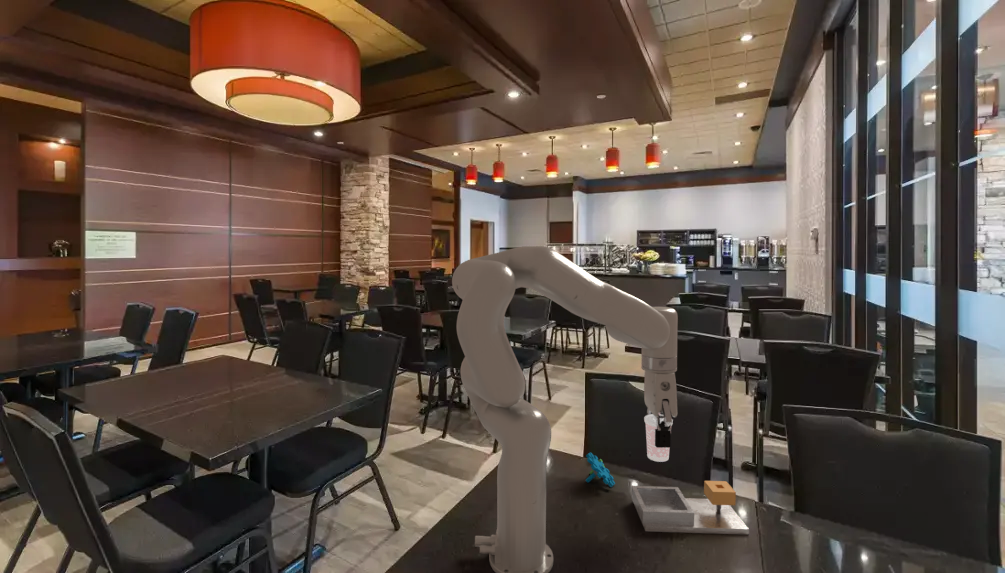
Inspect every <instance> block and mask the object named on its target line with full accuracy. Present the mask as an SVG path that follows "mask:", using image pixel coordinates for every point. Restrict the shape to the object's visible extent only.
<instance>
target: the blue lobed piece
mask: <svg viewBox="0 0 1005 573" xmlns="http://www.w3.org/2000/svg"><path fill="white" fill-rule="evenodd" d="M585 457H586V458H587V459H586V460H587V463H589V464H590V468H591V470H590V472H589V476H588V477H587V478H585V482H587V483H589V484H590V482H592V480H593V479H595V478H596V477H597V478H599V479H601V478H602V481H603V483H604V484H605V485H608V487H610V488H613V487H614V486H615V485H616V482H615V481H614V477H613V475H611V474H610V469H608V468H606V467H605V464H604V463H603V459H601V458H600V459H599V458H598V456H597V455H594V454H593V453H592V452H590V451H589V453H587V454H586V455H585Z"/></svg>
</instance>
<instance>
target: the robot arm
mask: <svg viewBox="0 0 1005 573" xmlns="http://www.w3.org/2000/svg"><path fill="white" fill-rule="evenodd" d="M452 274H453V275H452V279H451V284H452V288H453V291H454V292H455V294H456V295H457V296H458V298H460V299H461V300H462V301H461V304H460V307H459V311H458V313H457V318H456V334H457V339H458V342H459V345H460V347H461V350H462V352H463V354H464V357H463V360H462V362H461V366H460V379H461V384H462V385H463V388H464V390H465V393H466V395H467V396H468V398H469V401H470V402H471V405H472V408H473V410H474V411H475V414H476V416H477V418H478V420H479V422H480V423H481V425H482V426H483V428H484V429H485V431H487V433H488V434H490V435H491V437H493V438H494V439H495V440H496V441H497V442H498V443H499V444H500V445H501V455H500V458H499V461H498V465H497V477H496V479H497V480H496V485H497V486H496V487H497V489H496V491H497V496H496V499H497V501H496V502H497V503H496V504H497V506H496V508H497V510H496V511H497V512H496V513H497V516H496V517H497V518H496V520H497V521H496V522H497V523H496V524H497V525H496V528H497V529H496V530H495V531H496V532H495V534H490V536H488V535H487V536H485V535H475V536H474V547H479V554H484V555H485V554H488V555H489V566H490V567H491V568H492V571H494V573H550V572H551V570H552V569H553V565H554V554H553V550H552V549H551V548H550V546H549V545H548V544H547V543H546V536H547V535H546V534H547V533H546V532H547V531H546V529H547V527H546V526H547V525H546V524H547V522H546V521H547V467H548V455H549V451H550V447H551V442H552V428H551V424H550V421H549V419H548V417H547V416H546V415H545V413H544V412H543V411H541V410H540V409H539V408H538V407H537V406H535V405H533V404H532V403H530V402H529V401H527V400H525V399H524V398H523V396H524V394H525V390H526V380H525V376H524V372H523V370H522V368H521V365H520V364H519V362H518V359H517V357H516V354H515V353H514V350H513V348H512V346H511V343H510V341H509V338H508V335H507V332H506V329H505V325H504V324H505V321H504V320H505V315H506V312H507V309H508V307H509V305H510V303H511V301H512V300H513V297H514V295H515V292H516V289H520V288H523V289H524V288H526V289H531V290H534V291H535V292H538V293H539V294H541V295H542V296H544V297H546V298H547V299H549V300H551V301H552V302H554V303H556V304H557V305H559V306H561V307H562V308H563V309H565V310H567V311H568V312H570V313H571V314H572V315H575V316H578V317H579V318H583V319H584V320H587V321H590V322H593V323H597V324H600V325H604V326H605V330H606V332H607V334H608V335H609V336H610V337H611V338H612V339H614V340H615V341H617V342H621V343H624V344H626V345H632V346H635V347H636V346H637V347H639V348H641V362H640V363H641V368H640V369H641V370H643V371H644V381H643V382H644V385H643V387H644V388H643V391H644V392H643V396H644V397H643V398H644V404H645V406H646V408H647V410H646V415H649V414H653V415H654V416H655V417H656V425H657V429H655V446H656V447H657V448H669V447H670V448H671V445H672V444H671V438H672V437H671V435H672V426H671V423H673V422H672V420H673V418H677V416H678V395H677V390H678V389H677V382H676V381H677V380H676V372H677V371H678V324H679V323H678V322H679V321H678V320H679V319H678V317H679V316H678V312H677V311H676V309H674V308H673V307H668V306H651V305H649V304H648V303H646V302H645V301H643V300H641V299H639V298H638V297H635V296H634V295H632V294H629V293H627V292H626V291H623V290H621V289H619V288H617V287H616V286H613V285H611V284H609V283H607V282H605V281H603V280H601V279H598V278H597V277H595V276H594V275H592V274H590V273H589V272H588V271H587V270H585V269H583V268H582V267H581V266H579V265H577V264H576V263H574V262H573V261H571V260H570V259H568V258H567V257H565V256H564V255H563V254H561V253H559V252H558V251H556V250H555V249H553V248H552V247H548V246H543V245H542V246H541V245H539V246H538V245H536V246H535V245H534V246H533V245H531V246H530V245H529V246H527V245H526V246H518V247H514V248H509V249H505V250H503V251H499V252H495V253H491V254H487V255H483V256H479V257H478V256H477V257H474V258H470V259H467V260H465V261H463V262H462V263H460V264H459V265H458V266H457V267H456V268H455V270H454V272H453V273H452ZM659 413H660V414H661V415H659ZM672 417H673V418H672ZM660 418H664V421H662V422H661V423H660Z"/></svg>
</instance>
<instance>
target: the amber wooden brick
mask: <svg viewBox="0 0 1005 573" xmlns="http://www.w3.org/2000/svg"><path fill="white" fill-rule="evenodd" d="M703 482H704V483H703V494H704V496H706V499H709V501H710V502H711V503H712V505H730V506H736V501H737V498H736V497H737V492H736V491H735V490H734V488H733V487H732V486H731V485H730V484H729V483H728V482H727V481H726V480H725V481H724V480H723V481H722V480H704V481H703Z"/></svg>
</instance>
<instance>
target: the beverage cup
mask: <svg viewBox="0 0 1005 573" xmlns="http://www.w3.org/2000/svg"><path fill="white" fill-rule="evenodd" d="M659 415H662V413H659ZM643 420H644V423H645V437H646V438H645V439H646V453H647V454H646V456H647V458H648V459H649V460H650V461H654V462H657V463H659V462H660V463H661V462H662V463H663V462H667V461H669V458H670V448H671V446H670V447H669V448H657V447H656V446H655V429H657V425H656V417H655V416H654V415H653V414H649V415H647V414H646V415H645V416H644V417H643ZM662 421H664V418H660V423H661V422H662ZM673 421H674V419H672V423H671V427H672V426H673V424H674V423H673Z"/></svg>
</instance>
